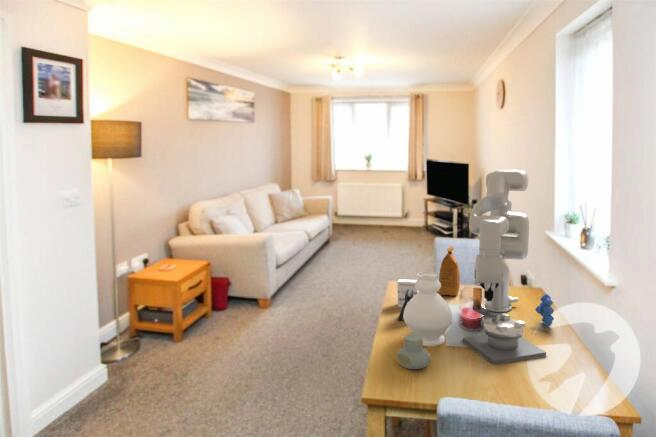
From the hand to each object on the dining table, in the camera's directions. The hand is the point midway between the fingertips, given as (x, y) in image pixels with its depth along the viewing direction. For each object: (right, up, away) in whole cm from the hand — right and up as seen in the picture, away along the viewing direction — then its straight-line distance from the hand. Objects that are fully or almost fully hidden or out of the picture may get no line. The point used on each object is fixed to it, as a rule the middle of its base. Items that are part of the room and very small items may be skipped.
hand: (488, 300), depth 187 cm
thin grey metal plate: (+1, -15, -12) cm, 19 cm away
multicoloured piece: (-1, -9, -8) cm, 12 cm away
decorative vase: (-23, -15, -2) cm, 28 cm away
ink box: (-25, -9, +35) cm, 44 cm away
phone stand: (-27, -11, +19) cm, 35 cm away
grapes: (+25, -11, +9) cm, 29 cm away
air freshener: (-32, -18, -22) cm, 43 cm away
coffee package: (-2, -5, +51) cm, 51 cm away
